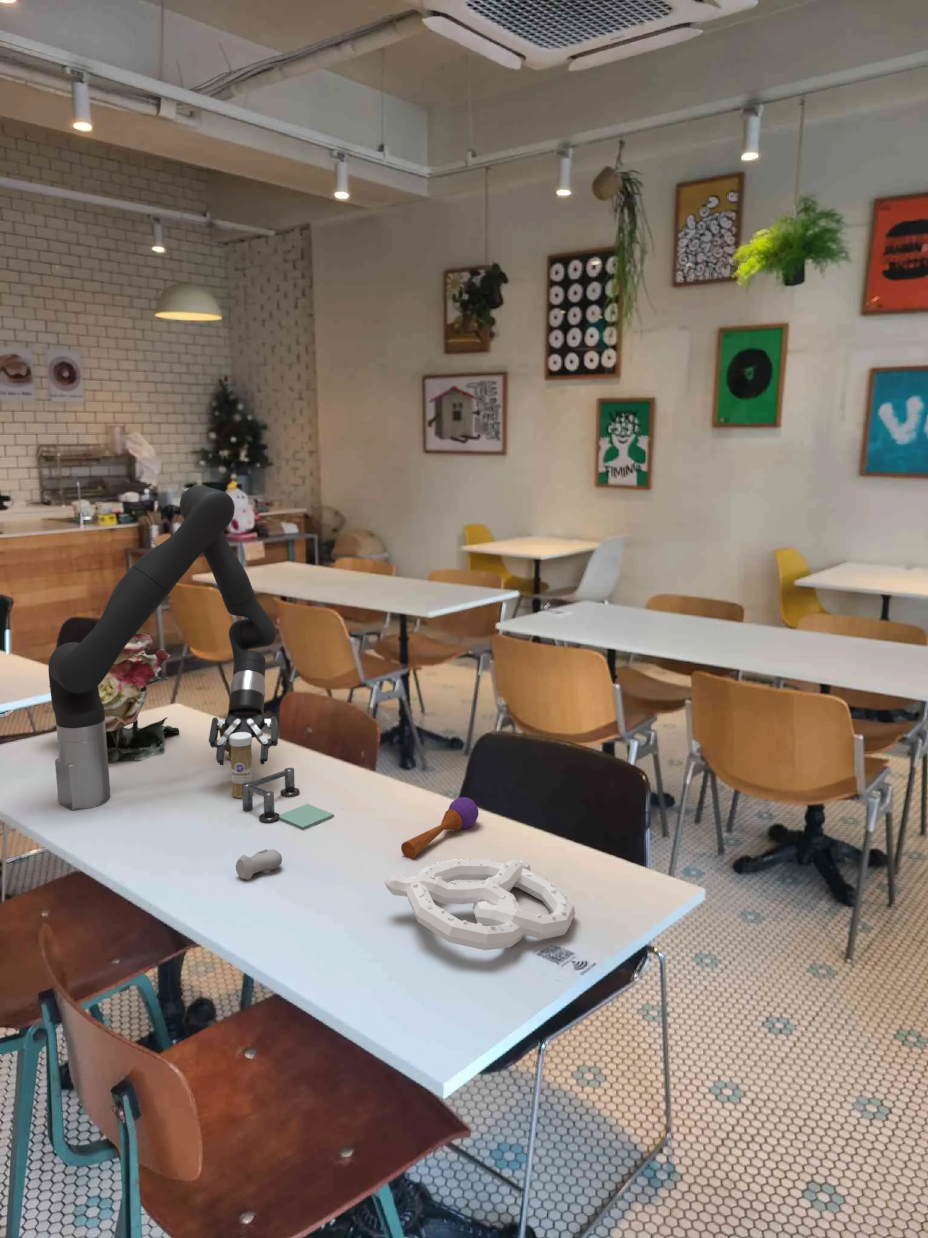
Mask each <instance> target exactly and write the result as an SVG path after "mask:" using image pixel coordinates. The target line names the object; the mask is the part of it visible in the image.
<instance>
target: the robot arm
mask: <svg viewBox="0 0 928 1238" xmlns="http://www.w3.org/2000/svg"><path fill="white" fill-rule="evenodd" d="M179 512H180V514H181V517H182V518H183V522H182V523H181V524H180V526H179V527H178V528H177V530H175V531H174V533H172V534H171V535H170V536H169V537H167V539H166V540H164V541H162V542H161V543H160V544H158V545H157V546H155V547H153V548H152V549H151V550H149V551H148V552H146V553H144V555H142V556H140V558H138V559H137V560H136V561H135V562H134V563H133V564H132V566H131V567H130V568H129V569H128V570H127V572H126V573H125V574H124V575H123V576H122V577H121V579H120V580H119V582H118V583H117V585H116V586H115V587H114V589H113V591H112V592H111V595H110V596H109V598H108V602H107V603H106V606H105V609H104V610H103V613H102V615H101V617H100V618H99V620H98V621H97V623H96V624H95V625H94V628H92V629H91V630H90V631H89V633H88V634H87V635H86V636H85V637H84V638H83V639H82V640H81V642H75V641H72V642H65V643H62V644H61V645H59V646H58V647H56V649H54V651H53V652H52V653H51V656H50V658H49V660H48V667H47V668H48V679H49V686H50V687H49V691H50V697H51V706H52V709H53V712H54V717H55V718H54V719H55V726H56V737H57V749H58V751H57V752H58V758H56V759H55V760H54V765H55V776H56V789H57V801H58V804H60V805H62V806H64V807H65V808H66V809H67V808H68V809H70V810H71V811H75V810H79V809H88V808H89V809H90V808H94V807H97V806H100V805H103V804H105V803H107V802H108V801H109V800H110V799H111V796H112V795H111V784H110V781H111V780H110V768H109V764H108V753H107V749H108V748H107V740H106V725H105V712H104V706H103V704H102V701H101V698H100V695H99V690H98V685H99V684H100V683H101V682H102V681H103V679H104V678H105V676H106V675H107V673H108V672H109V670H110V669H111V667H112V666H113V664H114V662H115V661H116V659H117V658H118V656H119V655H120V653H121V652H122V650H123V649H124V647H125V646H126V645H127V643H128V642H129V641H130V640H131V638H132V637H133V636H134V635H135V634H136V633H137V634H138V631H140V630H141V629H142V627H143V626H144V625H145V623H146V622H148V620H149V618H150V617H151V616H152V615H153V614H154V613H155V611H156V610H157V609H158V608H159V607H160V606H161V604H162V603H163V602H164V601H165V599H166V598H167V597H168V596H169V594H170V593H171V592H172V591H173V589H174V588H175V587H176V585H178V583H179V581H180V580H181V579H182V578H183V577H184V575H185V574H186V573H187V572H188V570H189V569H190V568H191V566H193V564H194V563H195V561H196V560H197V559H198V558H199V557H200V555H201V554H203V556H204V558H205V560H206V562H207V565H208V567H209V568H210V571H211V573H212V575H213V579H214V581H215V583H216V586H217V588H218V590H219V593H220V596H221V598H222V602H223V603H224V606H225V609H226V611H227V613H228V614H229V615H231V616H236V617H245V619H240V620H236V621H234V622H233V623H232V624H231V625H230V627H229V629H228V637H229V641H230V642H229V643H230V646H231V651H232V657H233V671H232V678H231V679H232V680H231V683H230V690H229V698H228V699H229V700H228V712H227V717H226V718H225V719H218V717H212V720H211V724H210V731H209V734H208V735H209V736H208V743H209V745H210V747H211V748H216V755H215V759H216V761H217V763H218V765H219V766H224V764H225V755H226V754H225V753H226V750H225V749H224V748H225V747H226V746H227V745H228V744H229V743H230V735H231V734H233V733H237V732H247V733H250V734H251V735H252V739H254V738H255V739H256V741H257V742H258V743H259V744H260V755H259V762H260V765H265V762H266V763H267V762H268V759H269V749H270V748H271V747H276V746H278V745H279V740H278V739H279V738H278V737H279V735H278V734H279V732H278V730H279V728H278V727H279V726H278V725H279V724H278V723H279V722H278V718H277V717H276V716H274V715H273V716H271V717H270V718H264V713H265V712H264V710H265V698H266V682H265V681H266V680H265V677H266V666H267V665H266V664H267V663H266V661H267V660H266V657H265V655H264V654H262V653H260V652H258V651H255V650H253V649H259V648H266V647H269V646H271V645H273V643H274V642H275V641H276V637H277V630H276V626H275V623H274V622H273V620H272V619H271V616H269V614H268V613H267V612H266V610H265V609H264V607H263V606H262V604H261V603H260V602H259V600H258V599H257V597H256V595H255V594H256V593H255V591H254V589H253V586H252V584H251V580H250V578H249V576H248V573H247V571H246V570H245V568H244V566H243V564H242V563H241V561H240V560H239V558H238V557H237V555H236V553H235V552H234V551H233V549H232V547H231V546H230V544H229V542H228V539H227V537H226V535H225V532H224V531H225V530H226V529H227V528H228V527H229V526H230V524H231V523H232V521H233V518H234V515H235V503H234V500H233V498H232V497H231V496H230V494H228V493H227V492H225V491H223V490H220V489H217V488H214V487H210V486H203V485H193V486H191V487H189V488H187V489H186V490H185V491H184V492H183V494H182V495H181V497H180V501H179ZM223 726H226V727H227V730H226V731H225V732H224V734H223V736H222V737H221V738H219V739H218V735H219V730H221V729H222V727H223ZM265 726H267V728H268V730H270V738H267V737H266V736H265V735H264V733H263V732H262V730H263V728H265Z"/></svg>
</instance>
